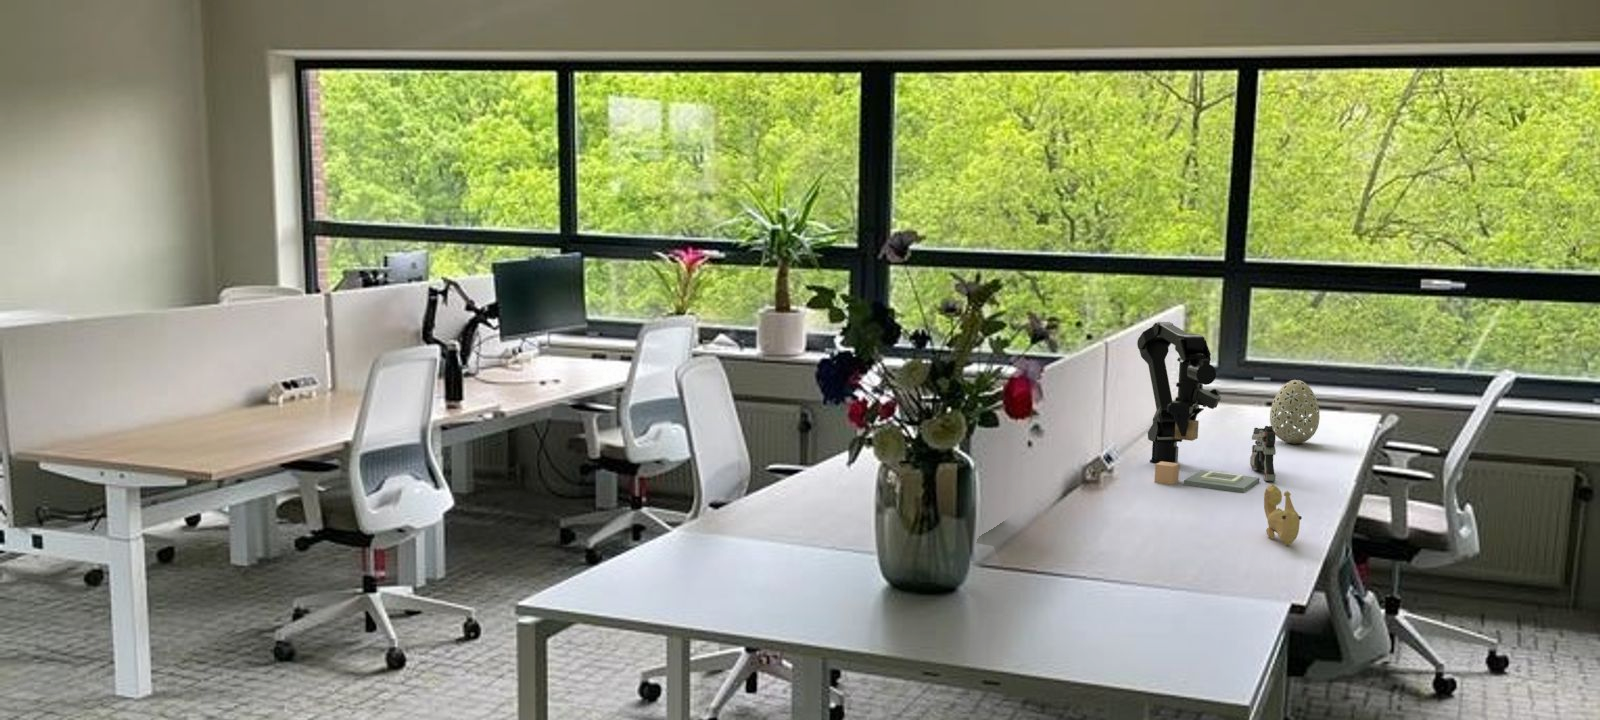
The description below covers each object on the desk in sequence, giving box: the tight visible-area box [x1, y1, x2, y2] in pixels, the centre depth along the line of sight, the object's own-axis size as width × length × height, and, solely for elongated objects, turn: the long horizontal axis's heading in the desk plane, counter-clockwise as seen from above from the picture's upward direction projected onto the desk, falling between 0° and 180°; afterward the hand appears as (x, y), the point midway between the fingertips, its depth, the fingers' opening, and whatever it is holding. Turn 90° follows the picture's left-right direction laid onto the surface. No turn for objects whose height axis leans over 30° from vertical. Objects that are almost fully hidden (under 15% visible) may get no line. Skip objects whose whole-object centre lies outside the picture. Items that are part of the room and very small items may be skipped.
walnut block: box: [1175, 419, 1200, 442], centre depth 401 cm, size 5×5×5 cm
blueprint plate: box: [1183, 469, 1260, 493], centre depth 388 cm, size 16×16×2 cm
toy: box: [1263, 483, 1302, 546], centre depth 328 cm, size 5×12×20 cm
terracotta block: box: [1154, 461, 1180, 486], centre depth 389 cm, size 5×5×5 cm
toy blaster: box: [1249, 425, 1277, 482], centre depth 400 cm, size 4×21×15 cm, turn 174°
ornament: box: [1269, 379, 1321, 445], centre depth 447 cm, size 15×15×20 cm
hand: (1186, 434), depth 401 cm, fingers closed on walnut block, 5 cm apart
